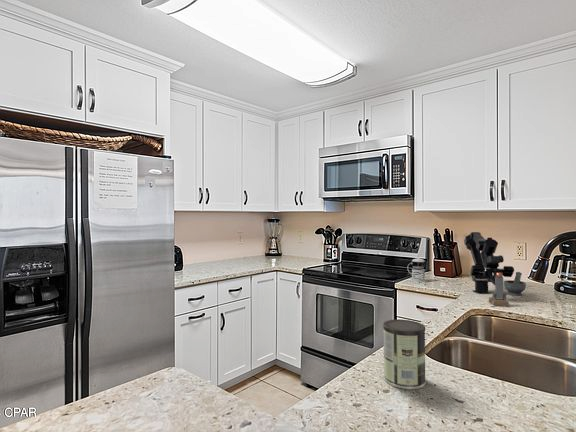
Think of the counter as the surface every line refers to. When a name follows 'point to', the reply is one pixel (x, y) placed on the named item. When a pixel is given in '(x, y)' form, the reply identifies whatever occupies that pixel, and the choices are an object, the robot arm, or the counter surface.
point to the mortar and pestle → (515, 285)
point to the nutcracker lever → (499, 285)
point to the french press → (422, 271)
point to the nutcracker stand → (498, 300)
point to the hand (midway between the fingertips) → (495, 284)
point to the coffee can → (404, 354)
